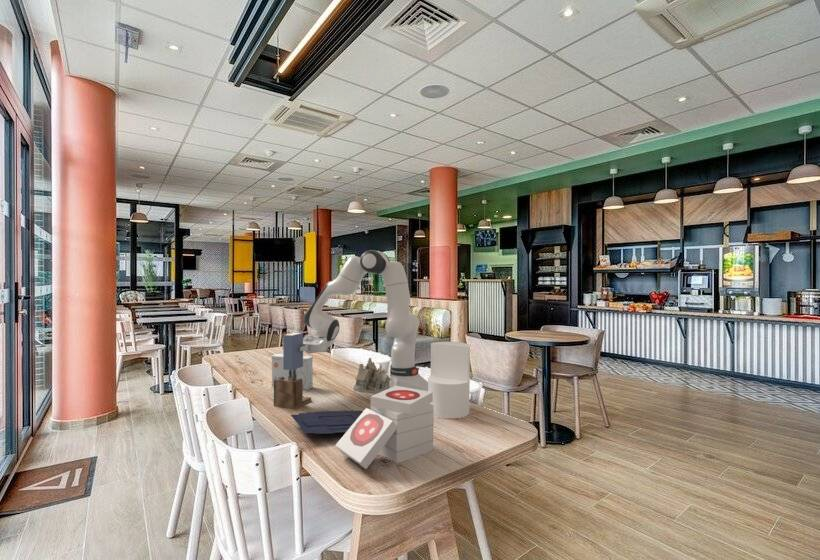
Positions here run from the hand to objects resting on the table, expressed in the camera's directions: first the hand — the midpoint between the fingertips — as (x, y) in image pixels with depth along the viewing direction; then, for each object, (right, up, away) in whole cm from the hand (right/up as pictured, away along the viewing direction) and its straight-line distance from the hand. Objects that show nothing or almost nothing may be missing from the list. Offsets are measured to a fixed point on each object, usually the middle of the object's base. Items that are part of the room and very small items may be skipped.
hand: (293, 348), depth 179 cm
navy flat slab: (+24, -25, -27) cm, 44 cm away
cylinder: (+68, -25, -10) cm, 73 cm away
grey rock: (+33, -24, +23) cm, 47 cm away
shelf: (0, -24, 0) cm, 24 cm away
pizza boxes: (+45, -25, -50) cm, 72 cm away
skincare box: (-8, -24, +26) cm, 36 cm away
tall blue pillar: (0, -8, 0) cm, 9 cm away
